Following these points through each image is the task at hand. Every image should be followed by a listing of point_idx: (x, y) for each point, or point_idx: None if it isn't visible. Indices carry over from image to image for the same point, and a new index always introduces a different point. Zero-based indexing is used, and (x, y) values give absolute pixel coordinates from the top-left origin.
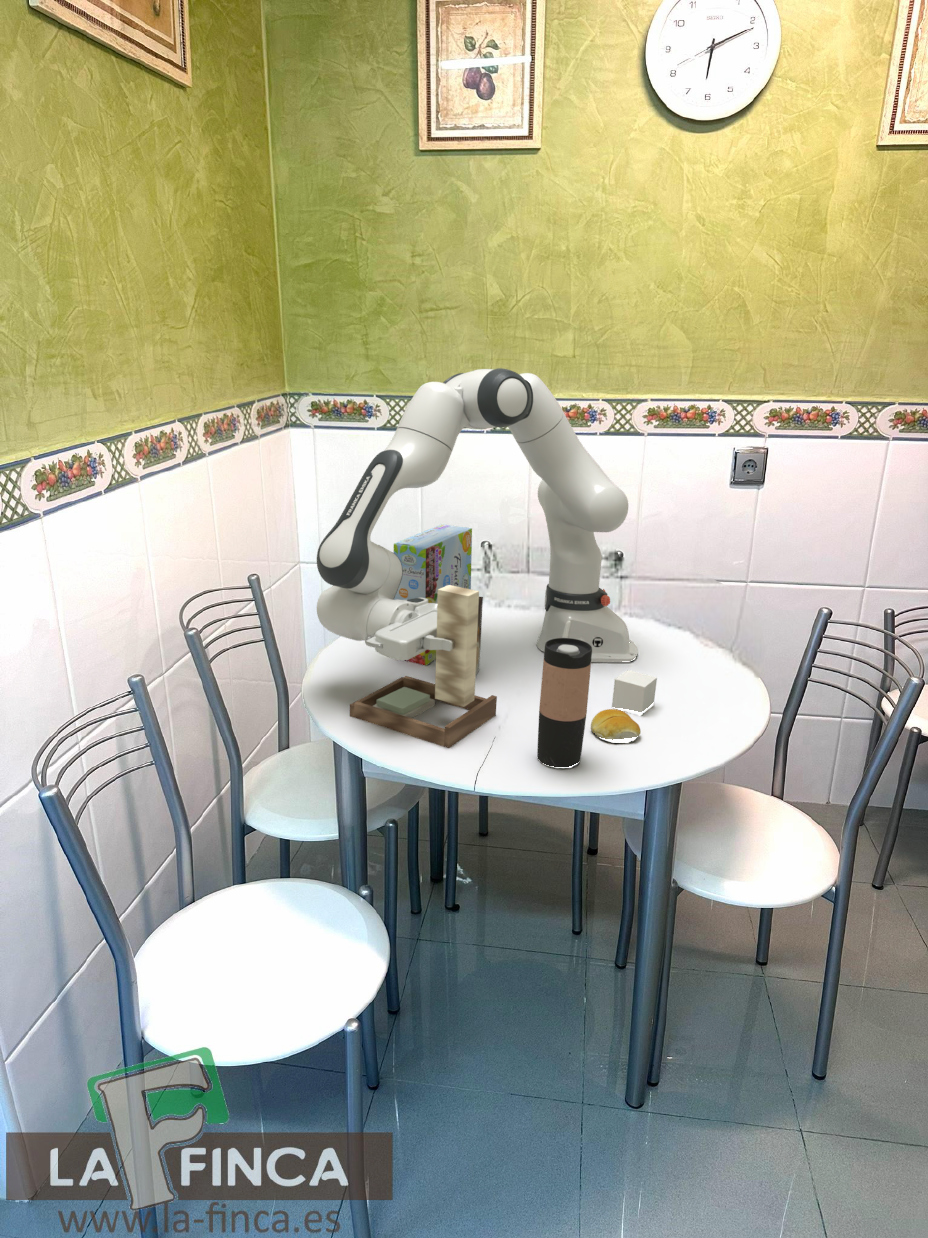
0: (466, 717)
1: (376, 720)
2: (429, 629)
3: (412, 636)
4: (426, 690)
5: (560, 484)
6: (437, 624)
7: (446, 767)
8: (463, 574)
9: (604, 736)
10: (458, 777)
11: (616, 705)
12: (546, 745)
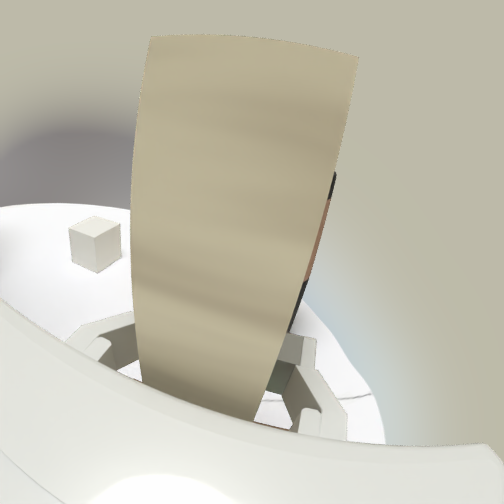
0: (260, 424)
1: None
2: (277, 433)
3: (445, 456)
4: None
5: None
6: (275, 362)
7: (364, 437)
8: None
9: None
10: (377, 413)
11: (101, 266)
12: (296, 312)
